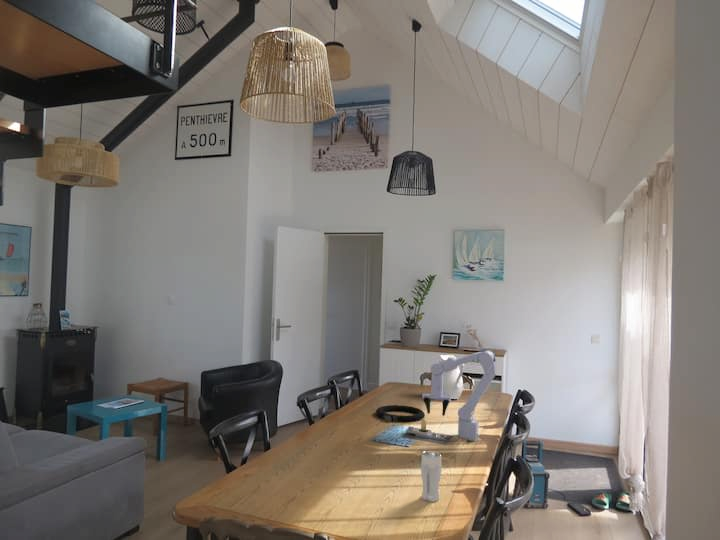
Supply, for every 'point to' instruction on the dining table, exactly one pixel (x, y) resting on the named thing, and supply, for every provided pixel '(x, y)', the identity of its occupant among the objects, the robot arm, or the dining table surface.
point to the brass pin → (423, 425)
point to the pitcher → (452, 380)
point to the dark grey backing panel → (413, 436)
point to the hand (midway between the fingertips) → (436, 414)
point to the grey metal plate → (426, 434)
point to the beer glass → (430, 475)
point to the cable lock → (400, 418)
